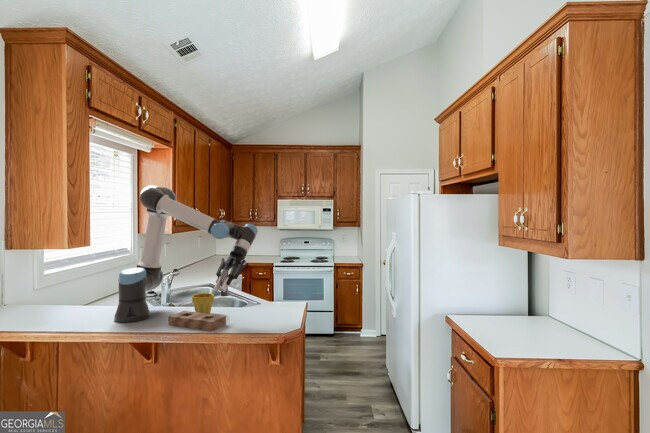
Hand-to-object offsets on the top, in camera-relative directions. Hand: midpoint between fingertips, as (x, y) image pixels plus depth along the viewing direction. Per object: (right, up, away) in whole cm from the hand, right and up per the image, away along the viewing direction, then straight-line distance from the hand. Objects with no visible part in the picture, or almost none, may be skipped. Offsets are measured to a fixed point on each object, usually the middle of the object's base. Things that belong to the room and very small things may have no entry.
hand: (219, 289), depth 168 cm
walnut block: (-10, -16, 0) cm, 19 cm away
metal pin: (+1, -3, +4) cm, 5 cm away
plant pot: (-13, -16, +17) cm, 27 cm away
